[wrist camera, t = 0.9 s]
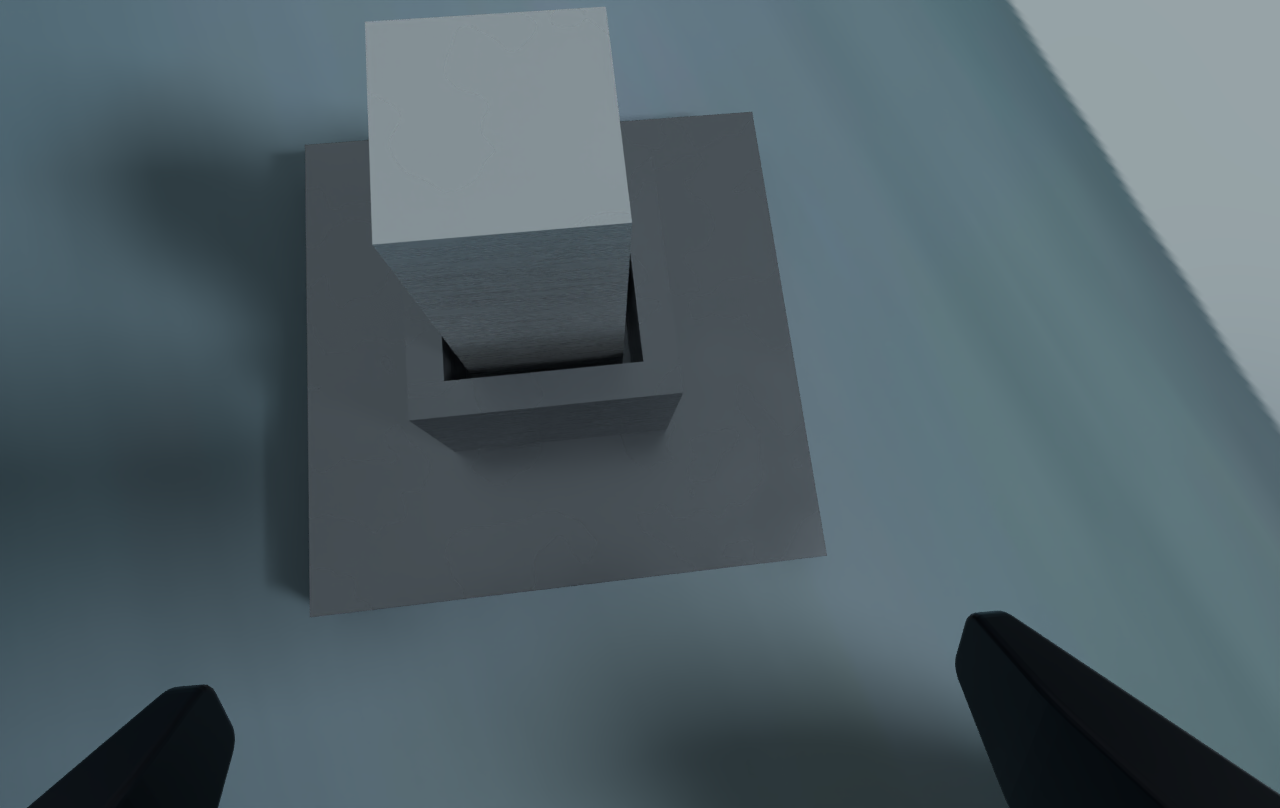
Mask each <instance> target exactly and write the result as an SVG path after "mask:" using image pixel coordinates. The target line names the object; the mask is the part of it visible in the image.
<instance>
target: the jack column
mask: <svg viewBox="0 0 1280 808" xmlns="http://www.w3.org/2000/svg"><path fill="white" fill-rule="evenodd" d="M365 37H366V67H367V98H368V128H369V159H370V190H371V220H372V245H373V246H374V247H375V249H376V250H377V251H378V253H379V254H380V255H381V257H382V258H383V259H384V261H385V262H386V263H387V265H388V266H389V267H390V268H391V270H392V271H393V272H394V274H395V275H396V276H397V278H398V279H399V280H400V282H401V283H402V284H403V286H404V287H405V288H406V290H407V291H408V292H409V293H410V295H411V296H412V297H413V299H414V300H415V301H416V303H417V304H418V305H419V307H420V308H421V309H422V311H423V312H424V313H425V315H426V316H427V317H428V318H429V320H430V321H431V322H432V324H433V325H434V326H435V328H436V329H437V330H438V332H439V333H440V334H441V336H442V337H443V338H444V340H445V341H446V342H447V343H448V345H449V346H450V347H451V349H452V350H453V351H454V353H455V354H456V355H457V357H458V358H459V359H460V361H461V362H462V363H463V364H464V366H465V367H466V368H467V370H468V371H469V372H470V374H471V375H472V376H473V378H481V377H491V376H501V375H512V374H522V373H532V372H542V371H553V370H563V369H573V368H583V367H593V366H604V365H614V364H623V349H624V334H625V319H626V305H627V290H628V275H629V261H630V246H631V231H632V218H631V210H630V201H629V193H628V185H627V177H626V168H625V160H624V152H623V144H622V136H621V127H620V119H619V111H618V103H617V94H616V86H615V78H614V70H613V61H612V53H611V45H610V37H609V29H608V20H607V12H606V7H594V8H578V9H562V10H546V11H530V12H514V13H498V14H482V15H466V16H450V17H434V18H418V19H402V20H386V21H370V22H365Z"/></svg>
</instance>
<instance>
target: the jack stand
mask: <svg viewBox="0 0 1280 808" xmlns="http://www.w3.org/2000/svg"><path fill="white" fill-rule="evenodd" d="M620 127H621V136H622V144H623V152H624V160H625V168H626V177H627V185H628V193H629V201H630V210H631V218H632V231H631V246H630V261H629V275H628V290H627V305H626V319H625V334H624V349H623V364H614V365H604V366H593V367H583V368H573V369H563V370H553V371H542V372H532V373H522V374H512V375H501V376H491V377H481V378H473V376H472V375H471V374H470V372H469V371H468V370H467V368H466V367H465V366H464V364H463V363H462V362H461V361H460V359H459V358H458V357H457V355H456V354H455V353H454V351H453V350H452V349H451V347H450V346H449V345H448V343H447V342H446V341H445V340H444V338H443V337H442V336H441V334H440V333H439V332H438V330H437V329H436V328H435V326H434V325H433V324H432V322H431V321H430V320H429V318H428V317H427V316H426V315H425V313H424V312H423V311H422V309H421V308H420V307H419V305H418V304H417V303H416V301H415V300H414V299H413V297H412V296H411V295H410V293H409V292H408V291H407V290H406V288H405V287H404V286H403V284H402V283H401V282H400V280H399V279H398V278H397V276H396V275H395V274H394V272H393V271H392V270H391V268H390V267H389V266H388V265H387V263H386V262H385V261H384V259H383V258H382V257H381V255H380V254H379V253H378V251H377V250H376V249H375V247H374V246H373V245H372V220H371V190H370V159H369V140H365V141H351V142H338V143H324V144H311V145H305V194H306V291H307V387H308V484H309V580H310V617H317V616H325V615H333V614H342V613H350V612H358V611H367V610H375V609H384V608H392V607H400V606H409V605H417V604H425V603H434V602H442V601H451V600H459V599H467V598H476V597H484V596H492V595H501V594H509V593H517V592H526V591H534V590H543V589H551V588H559V587H568V586H576V585H584V584H593V583H601V582H610V581H618V580H626V579H635V578H643V577H651V576H660V575H668V574H677V573H685V572H693V571H702V570H710V569H718V568H727V567H735V566H744V565H752V564H760V563H769V562H777V561H785V560H794V559H802V558H810V557H819V556H827V553H826V547H825V541H824V535H823V529H822V524H821V518H820V512H819V506H818V500H817V494H816V488H815V482H814V476H813V470H812V464H811V458H810V452H809V446H808V441H807V435H806V429H805V423H804V417H803V411H802V405H801V399H800V393H799V387H798V381H797V375H796V369H795V363H794V358H793V352H792V346H791V340H790V334H789V328H788V322H787V316H786V310H785V304H784V298H783V292H782V286H781V281H780V275H779V269H778V263H777V257H776V251H775V245H774V239H773V233H772V227H771V221H770V215H769V209H768V203H767V198H766V192H765V186H764V180H763V174H762V168H761V162H760V156H759V150H758V144H757V138H756V132H755V126H754V120H753V115H752V112H744V113H730V114H717V115H703V116H690V117H676V118H663V119H649V120H636V121H622V122H620Z"/></svg>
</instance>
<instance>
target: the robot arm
mask: <svg viewBox="0 0 1280 808" xmlns="http://www.w3.org/2000/svg"><path fill="white" fill-rule="evenodd" d="M955 667H956V673H957V677H958V680H959V682H960V685H961V688H962V690H963V693H964V695H965V698H966V700H967V703H968V705H969V708H970V711H971V713H972V716H973V718H974V721H975V723H976V726H977V728H978V731H979V734H980V736H981V739H982V741H983V744H984V746H985V749H986V751H987V754H988V757H989V759H990V762H991V764H992V767H993V769H994V772H995V774H996V777H997V780H998V782H999V784H1000V787H1001V789H1002V792H1003V794H1004V796H1005V799H1006V801H1007V803H1008V806H1009V808H1280V794H1279V793H1277V792H1276V791H1274V790H1273V789H1271V788H1270V787H1268V786H1267V785H1265V784H1264V783H1262V782H1261V781H1259V780H1258V779H1256V778H1255V777H1253V776H1252V775H1250V774H1249V773H1247V772H1246V771H1244V770H1243V769H1241V768H1240V767H1238V766H1237V765H1235V764H1234V763H1232V762H1231V761H1229V760H1228V759H1226V758H1225V757H1223V756H1222V755H1220V754H1219V753H1217V752H1216V751H1214V750H1213V749H1211V748H1210V747H1208V746H1207V745H1205V744H1204V743H1202V742H1201V741H1199V740H1198V739H1196V738H1195V737H1193V736H1192V735H1190V734H1189V733H1187V732H1186V731H1184V730H1183V729H1181V728H1180V727H1178V726H1177V725H1175V724H1174V723H1172V722H1171V721H1169V720H1168V719H1166V718H1165V717H1163V716H1162V715H1160V714H1159V713H1157V712H1156V711H1154V710H1153V709H1151V708H1150V707H1148V706H1147V705H1145V704H1144V703H1142V702H1141V701H1139V700H1138V699H1136V698H1135V697H1133V696H1132V695H1130V694H1129V693H1127V692H1126V691H1124V690H1123V689H1121V688H1120V687H1118V686H1117V685H1115V684H1114V683H1112V682H1111V681H1109V680H1108V679H1106V678H1105V677H1103V676H1102V675H1100V674H1099V673H1097V672H1096V671H1094V670H1093V669H1091V668H1090V667H1088V666H1087V665H1085V664H1084V663H1082V662H1081V661H1079V660H1078V659H1076V658H1075V657H1073V656H1072V655H1070V654H1069V653H1067V652H1066V651H1064V650H1063V649H1061V648H1060V647H1058V646H1057V645H1055V644H1054V643H1052V642H1051V641H1049V640H1048V639H1046V638H1045V637H1043V636H1042V635H1040V634H1039V633H1037V632H1036V631H1034V630H1033V629H1032V628H1030V627H1029V626H1027V625H1026V624H1024V623H1023V622H1021V621H1020V620H1018V619H1017V618H1015V617H1014V616H1012V615H1010V614H1008V613H1006V612H1003V611H989V612H978V613H973V614H971V615H970V616H969V617H968V618H967V620H966V622H965V626H964V629H963V633H962V636H961V640H960V644H959V647H958V651H957V654H956V659H955ZM234 744H235V734H234V729H233V726H232V724H231V722H230V720H229V718H228V716H227V714H226V712H225V710H224V708H223V706H222V704H221V702H220V700H219V698H218V696H217V694H216V692H215V691H214V689H213V688H211V687H210V686H208V685H192V686H181V687H174V688H171V689H169V690H167V691H165V692H164V693H162V694H161V695H160V696H159V697H157V698H156V699H155V700H154V701H153V702H151V703H150V704H149V705H148V706H147V707H146V708H144V709H143V710H142V711H141V712H140V713H138V714H137V715H136V716H135V717H134V718H133V719H131V720H130V721H129V722H128V723H127V724H125V725H124V726H123V727H122V728H121V729H120V730H118V731H117V732H116V733H115V734H114V735H112V736H111V737H110V738H109V739H108V740H107V741H105V742H104V743H103V744H102V745H101V746H99V747H98V748H97V749H96V750H95V751H94V752H92V753H91V754H90V755H89V756H88V757H86V758H85V759H84V760H83V761H82V762H81V763H79V764H78V765H77V766H76V767H75V768H73V769H72V770H71V771H70V772H69V773H68V774H66V775H65V776H64V777H63V778H62V779H60V780H59V781H58V782H57V783H56V784H55V785H53V786H52V787H51V788H50V789H49V790H47V791H46V792H45V793H44V794H43V795H42V796H40V797H39V798H38V799H37V800H36V801H34V802H33V803H32V804H31V805H30V806H28V807H27V808H218V806H219V802H220V798H221V795H222V791H223V787H224V784H225V780H226V776H227V773H228V769H229V765H230V762H231V758H232V754H233V750H234Z"/></svg>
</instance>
